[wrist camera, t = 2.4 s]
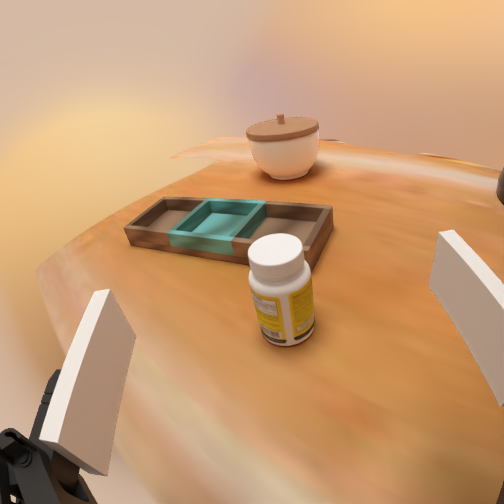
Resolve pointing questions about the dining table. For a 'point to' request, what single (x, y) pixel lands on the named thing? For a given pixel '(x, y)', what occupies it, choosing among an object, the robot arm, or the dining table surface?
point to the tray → (228, 226)
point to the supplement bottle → (281, 289)
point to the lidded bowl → (285, 146)
